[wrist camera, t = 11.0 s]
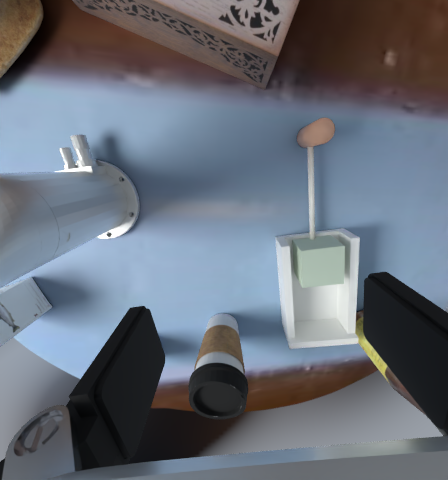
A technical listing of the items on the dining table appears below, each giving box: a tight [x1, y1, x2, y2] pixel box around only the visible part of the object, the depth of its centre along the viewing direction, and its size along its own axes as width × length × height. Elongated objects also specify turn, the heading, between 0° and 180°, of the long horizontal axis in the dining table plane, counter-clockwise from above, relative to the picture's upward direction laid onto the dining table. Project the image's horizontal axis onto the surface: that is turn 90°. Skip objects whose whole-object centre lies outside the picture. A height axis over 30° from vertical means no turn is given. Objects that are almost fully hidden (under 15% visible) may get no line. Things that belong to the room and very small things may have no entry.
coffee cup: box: [189, 313, 248, 419], centre depth 36 cm, size 8×8×15 cm
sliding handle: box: [292, 118, 345, 288], centre depth 32 cm, size 22×6×6 cm, turn 8°
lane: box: [275, 228, 360, 349], centre depth 36 cm, size 18×11×6 cm, turn 9°
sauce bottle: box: [355, 310, 448, 436], centre depth 32 cm, size 7×6×20 cm
